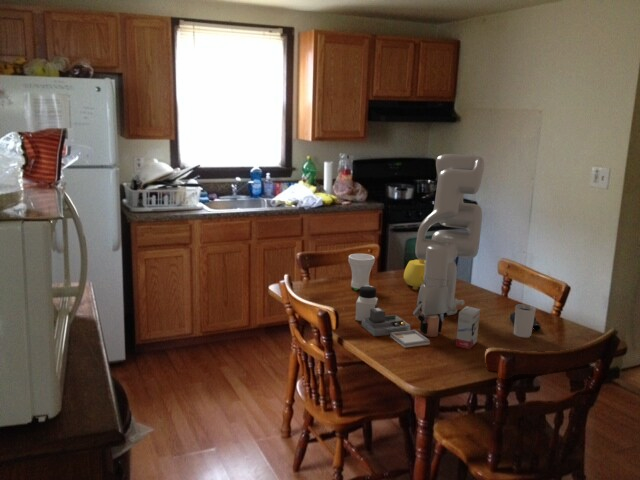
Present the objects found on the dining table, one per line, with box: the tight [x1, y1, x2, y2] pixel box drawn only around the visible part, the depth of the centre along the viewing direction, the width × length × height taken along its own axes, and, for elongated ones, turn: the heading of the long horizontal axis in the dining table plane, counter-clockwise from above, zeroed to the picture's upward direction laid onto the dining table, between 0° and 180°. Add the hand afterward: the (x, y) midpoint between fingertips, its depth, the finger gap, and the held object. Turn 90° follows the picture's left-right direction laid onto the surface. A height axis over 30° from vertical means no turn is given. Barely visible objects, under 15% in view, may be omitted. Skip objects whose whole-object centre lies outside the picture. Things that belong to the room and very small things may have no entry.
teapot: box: [403, 258, 425, 291], centre depth 251 cm, size 14×20×13 cm
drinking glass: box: [513, 303, 537, 338], centre depth 202 cm, size 7×7×10 cm
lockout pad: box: [389, 329, 431, 348], centre depth 194 cm, size 10×10×1 cm
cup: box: [348, 253, 376, 292], centre depth 246 cm, size 11×11×14 cm
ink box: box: [455, 305, 481, 350], centre depth 192 cm, size 9×5×12 cm, turn 148°
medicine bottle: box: [355, 285, 379, 322], centre depth 212 cm, size 7×7×12 cm
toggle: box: [370, 307, 386, 323], centre depth 201 cm, size 4×4×5 cm
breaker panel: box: [361, 314, 412, 337], centre depth 203 cm, size 14×10×4 cm
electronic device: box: [509, 312, 541, 332], centre depth 213 cm, size 9×6×15 cm
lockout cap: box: [422, 314, 439, 338], centre depth 200 cm, size 5×5×7 cm
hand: (430, 331), depth 200 cm, fingers closed on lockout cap, 5 cm apart
